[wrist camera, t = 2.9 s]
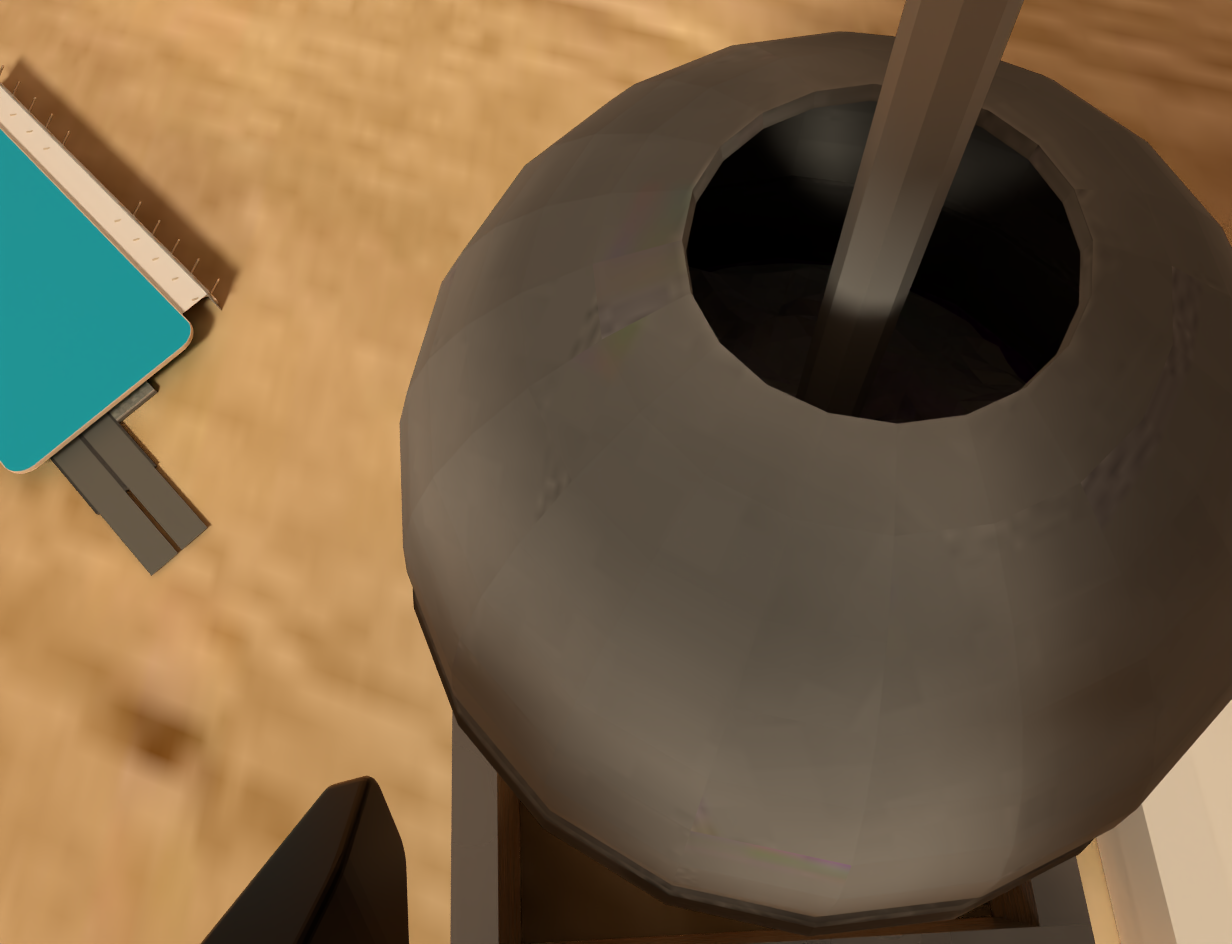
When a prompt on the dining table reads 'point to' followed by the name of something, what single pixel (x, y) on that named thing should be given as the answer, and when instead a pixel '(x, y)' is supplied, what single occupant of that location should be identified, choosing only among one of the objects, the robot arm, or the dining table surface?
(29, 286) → the teal flat block
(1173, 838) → the cream white tray
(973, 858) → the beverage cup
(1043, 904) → the grey-brown square frame
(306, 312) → the dining table surface
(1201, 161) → the dining table surface
